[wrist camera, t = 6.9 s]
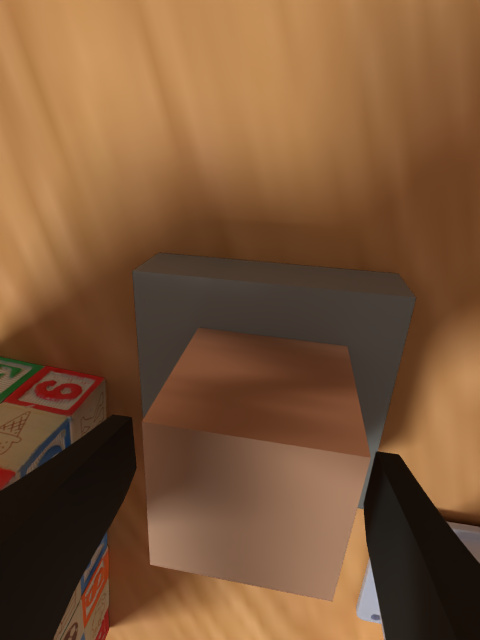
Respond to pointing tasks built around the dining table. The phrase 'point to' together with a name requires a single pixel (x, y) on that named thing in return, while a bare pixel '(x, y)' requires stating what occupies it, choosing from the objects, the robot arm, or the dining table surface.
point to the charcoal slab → (275, 318)
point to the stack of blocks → (43, 444)
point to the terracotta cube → (256, 462)
